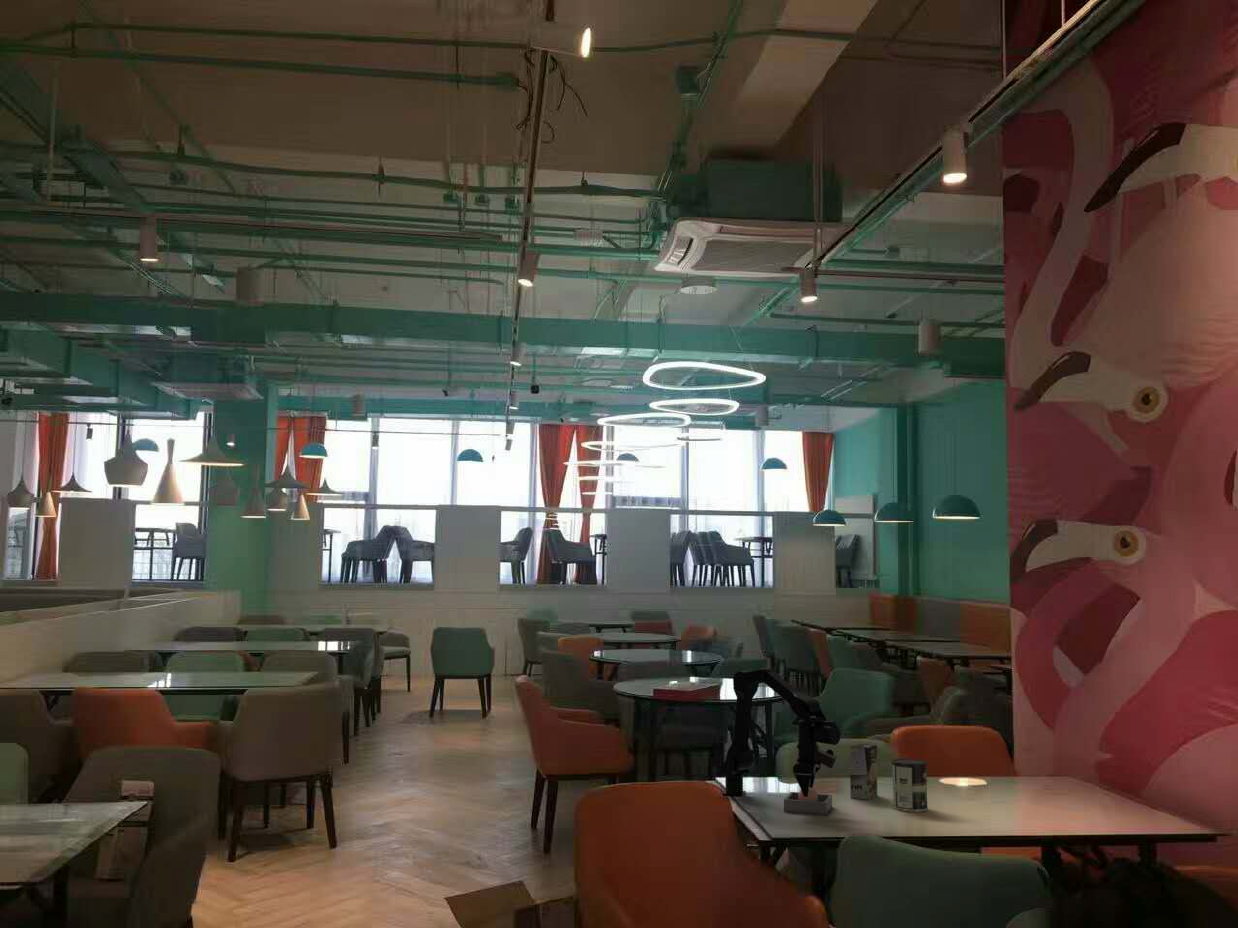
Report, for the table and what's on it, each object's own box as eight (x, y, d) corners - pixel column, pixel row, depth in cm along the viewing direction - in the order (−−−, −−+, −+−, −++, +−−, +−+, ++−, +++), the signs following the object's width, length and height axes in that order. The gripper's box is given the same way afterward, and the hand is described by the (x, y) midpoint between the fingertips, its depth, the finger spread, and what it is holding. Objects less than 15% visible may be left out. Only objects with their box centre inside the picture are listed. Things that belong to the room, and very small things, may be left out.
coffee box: (869, 800, 319) (868, 748, 321) (850, 797, 323) (849, 746, 325) (878, 795, 327) (877, 744, 329) (858, 793, 330) (858, 742, 332)
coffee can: (926, 805, 312) (924, 759, 314) (929, 812, 302) (928, 764, 303) (891, 804, 314) (890, 757, 316) (893, 811, 304) (892, 762, 306)
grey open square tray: (791, 803, 313) (790, 791, 313) (832, 806, 309) (831, 794, 309) (783, 811, 301) (783, 799, 302) (826, 814, 297) (826, 802, 298)
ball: (799, 804, 309) (799, 784, 310) (819, 806, 307) (819, 785, 308) (796, 808, 303) (796, 787, 304) (816, 810, 301) (816, 789, 302)
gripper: (830, 746, 296) (831, 801, 294) (838, 738, 314) (838, 790, 312) (792, 744, 300) (792, 798, 298) (802, 736, 317) (802, 787, 315)
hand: (808, 793), depth 306 cm, fingers open, 9 cm apart
